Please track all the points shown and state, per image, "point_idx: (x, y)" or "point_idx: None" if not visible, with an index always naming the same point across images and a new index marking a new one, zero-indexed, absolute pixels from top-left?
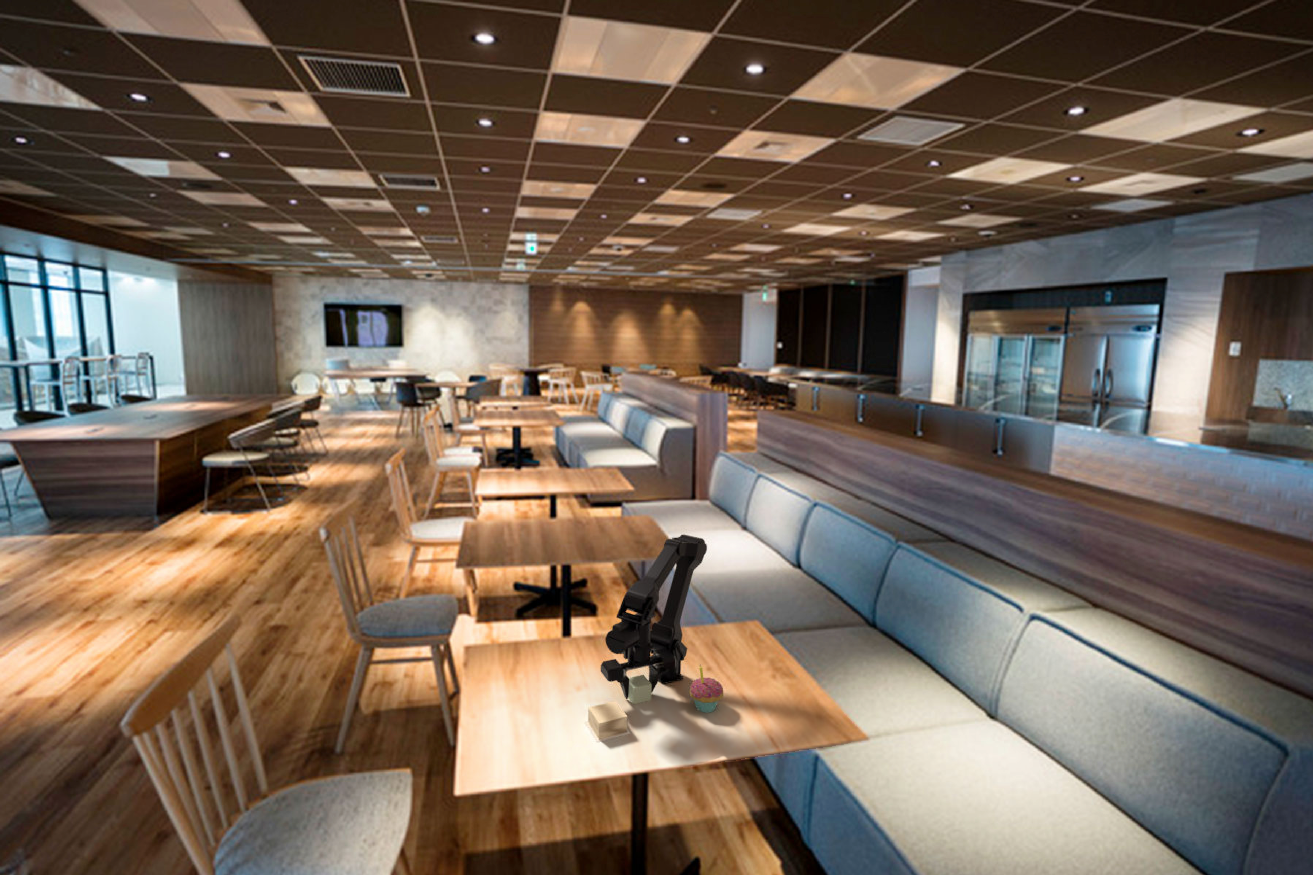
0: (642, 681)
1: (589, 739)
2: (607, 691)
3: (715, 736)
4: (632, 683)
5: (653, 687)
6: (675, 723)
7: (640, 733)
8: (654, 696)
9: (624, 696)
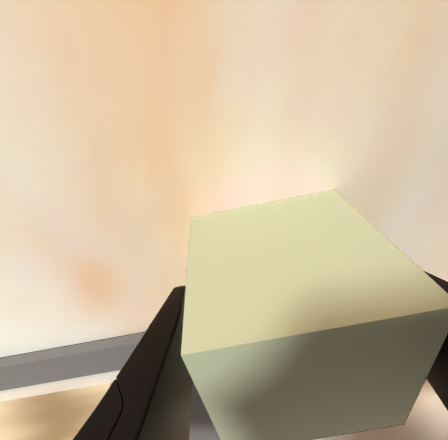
0: (353, 398)
1: None
2: (34, 114)
3: (408, 432)
4: (240, 416)
5: None
6: None
7: None
8: None
9: (172, 293)
